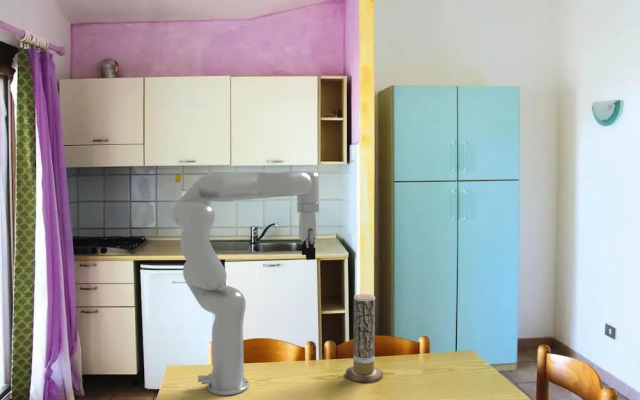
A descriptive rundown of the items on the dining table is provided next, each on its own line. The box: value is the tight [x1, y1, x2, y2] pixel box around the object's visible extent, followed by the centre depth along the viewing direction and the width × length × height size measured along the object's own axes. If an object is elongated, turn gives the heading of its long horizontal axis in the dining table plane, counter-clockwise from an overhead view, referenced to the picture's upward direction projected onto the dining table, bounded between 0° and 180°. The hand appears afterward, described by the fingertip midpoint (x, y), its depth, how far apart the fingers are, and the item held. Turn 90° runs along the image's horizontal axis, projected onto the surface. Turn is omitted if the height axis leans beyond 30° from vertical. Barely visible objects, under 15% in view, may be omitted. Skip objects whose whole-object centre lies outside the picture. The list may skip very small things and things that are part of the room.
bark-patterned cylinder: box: [352, 293, 376, 375], centre depth 173 cm, size 7×7×25 cm
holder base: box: [345, 366, 383, 384], centre depth 174 cm, size 12×12×1 cm
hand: (308, 257), depth 184 cm, fingers open, 9 cm apart
